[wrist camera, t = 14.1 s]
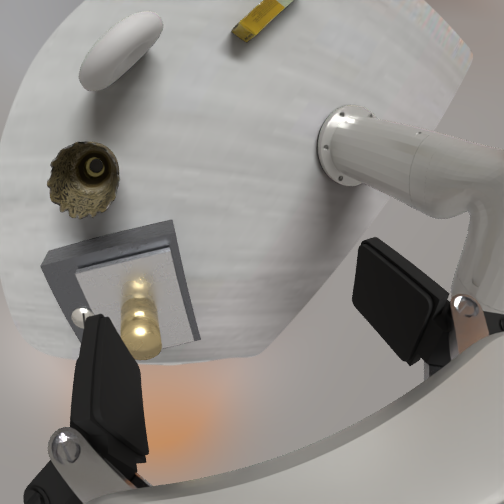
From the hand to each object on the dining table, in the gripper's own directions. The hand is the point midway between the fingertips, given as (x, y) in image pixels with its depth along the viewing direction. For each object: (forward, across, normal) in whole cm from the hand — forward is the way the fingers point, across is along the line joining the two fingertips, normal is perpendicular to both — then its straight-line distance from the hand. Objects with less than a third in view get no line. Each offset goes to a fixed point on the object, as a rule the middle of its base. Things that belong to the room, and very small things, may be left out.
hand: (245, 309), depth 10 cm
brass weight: (+21, +10, +16) cm, 28 cm away
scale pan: (+22, +10, +16) cm, 29 cm away
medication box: (+27, -13, -19) cm, 36 cm away
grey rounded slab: (+27, +4, -14) cm, 30 cm away
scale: (+26, +12, +15) cm, 33 cm away
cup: (+26, +10, -2) cm, 28 cm away
